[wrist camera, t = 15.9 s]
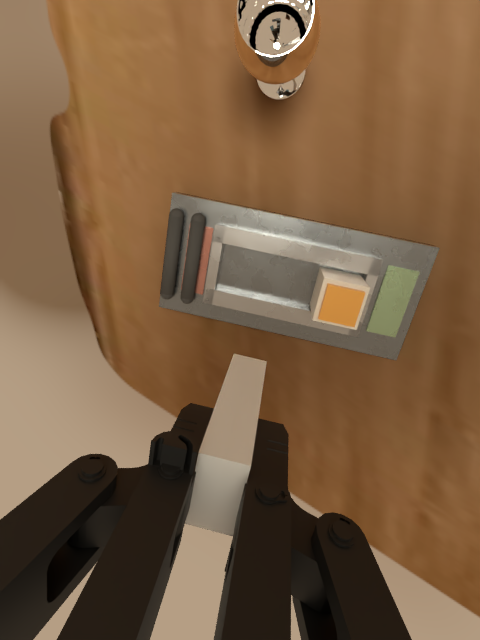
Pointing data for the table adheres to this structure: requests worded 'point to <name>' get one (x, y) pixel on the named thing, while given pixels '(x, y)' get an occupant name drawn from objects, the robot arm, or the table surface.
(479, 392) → the table surface
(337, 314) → the toggle
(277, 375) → the table surface
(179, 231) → the twin grey rollers
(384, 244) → the panel
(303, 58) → the wineglass
